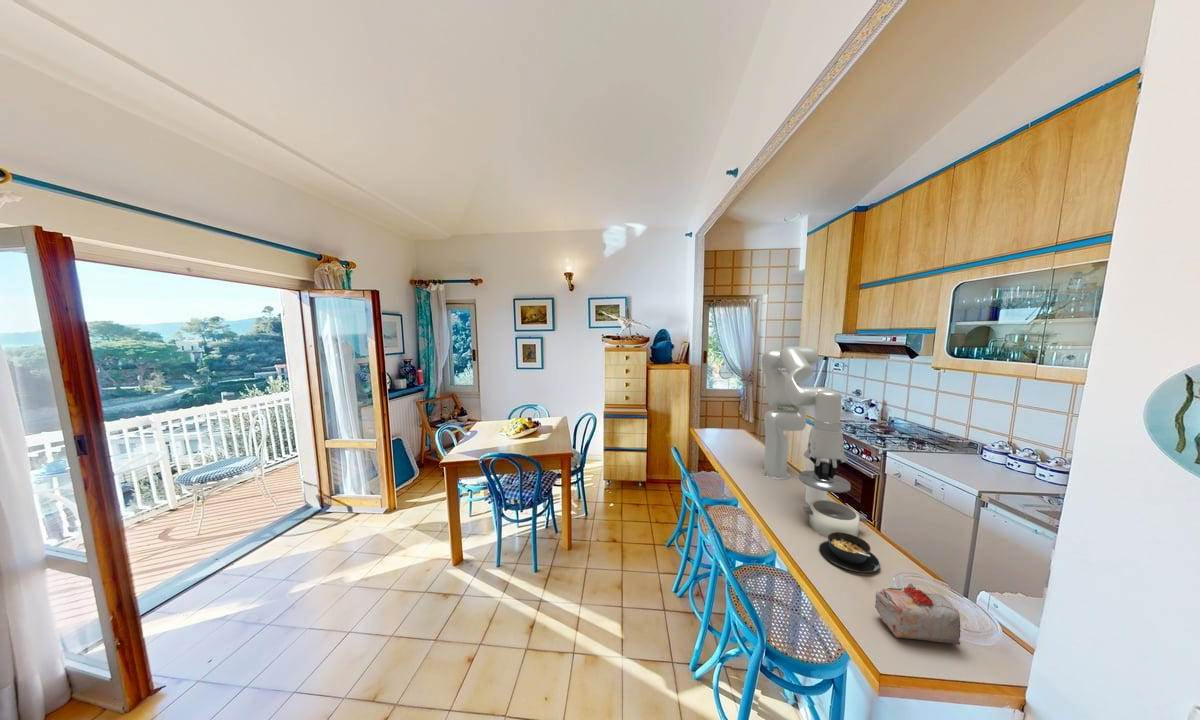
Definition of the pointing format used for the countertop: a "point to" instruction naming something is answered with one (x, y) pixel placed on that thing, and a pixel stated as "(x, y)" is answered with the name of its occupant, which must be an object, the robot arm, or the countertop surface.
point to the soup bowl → (849, 552)
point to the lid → (825, 480)
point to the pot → (833, 518)
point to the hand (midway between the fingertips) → (824, 476)
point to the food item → (918, 615)
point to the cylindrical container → (811, 492)
